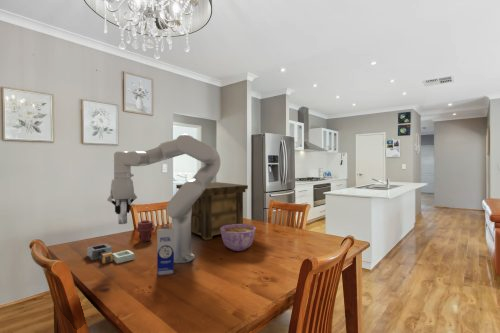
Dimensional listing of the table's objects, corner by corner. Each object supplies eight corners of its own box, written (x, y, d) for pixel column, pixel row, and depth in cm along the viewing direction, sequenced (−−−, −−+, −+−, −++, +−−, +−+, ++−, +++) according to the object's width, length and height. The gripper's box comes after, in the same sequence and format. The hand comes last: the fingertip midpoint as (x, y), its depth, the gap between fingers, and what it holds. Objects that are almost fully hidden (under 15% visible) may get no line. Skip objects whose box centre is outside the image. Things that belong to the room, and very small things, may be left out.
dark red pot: (141, 238, 170) (156, 238, 169) (133, 242, 160) (149, 243, 159) (141, 218, 169) (156, 219, 168) (133, 222, 159) (149, 222, 158)
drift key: (112, 261, 130) (112, 253, 130) (103, 263, 127) (103, 255, 127) (105, 256, 137) (105, 248, 137) (97, 258, 134) (97, 250, 134)
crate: (247, 232, 183) (247, 185, 182) (203, 243, 159) (203, 188, 158) (217, 223, 208) (217, 182, 208) (176, 231, 185) (176, 184, 184)
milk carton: (157, 275, 114) (156, 229, 113) (157, 269, 120) (157, 225, 120) (174, 273, 116) (174, 228, 115) (174, 267, 122) (174, 224, 122)
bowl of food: (252, 256, 138) (252, 233, 138) (215, 253, 142) (215, 231, 142) (258, 244, 158) (258, 224, 157) (226, 242, 162) (226, 223, 161)
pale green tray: (134, 259, 133) (134, 253, 133) (117, 263, 127) (117, 257, 127) (128, 255, 139) (128, 249, 139) (111, 259, 133) (111, 253, 133)
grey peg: (128, 223, 133) (128, 199, 132) (119, 224, 130) (119, 200, 130) (125, 221, 136) (125, 198, 135) (117, 223, 133) (116, 199, 133)
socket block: (111, 255, 138) (111, 247, 138) (92, 260, 131) (92, 251, 131) (106, 251, 144) (106, 243, 144) (87, 255, 138) (87, 247, 138)
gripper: (136, 175, 141) (136, 210, 141) (101, 176, 129) (101, 214, 129) (142, 176, 135) (142, 212, 136) (106, 177, 124) (106, 216, 124)
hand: (122, 212), depth 133 cm, fingers closed on grey peg, 4 cm apart
